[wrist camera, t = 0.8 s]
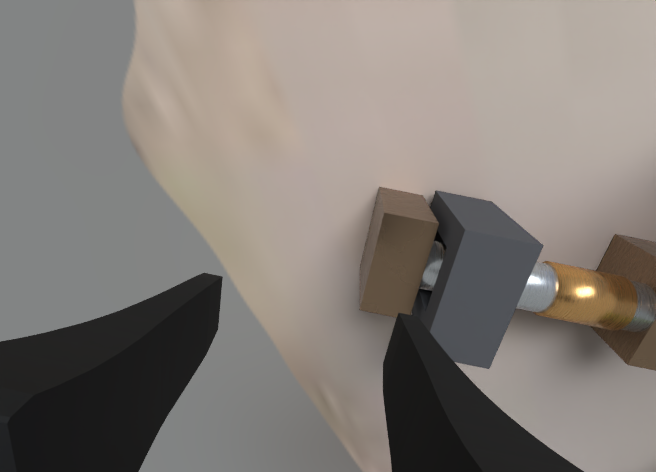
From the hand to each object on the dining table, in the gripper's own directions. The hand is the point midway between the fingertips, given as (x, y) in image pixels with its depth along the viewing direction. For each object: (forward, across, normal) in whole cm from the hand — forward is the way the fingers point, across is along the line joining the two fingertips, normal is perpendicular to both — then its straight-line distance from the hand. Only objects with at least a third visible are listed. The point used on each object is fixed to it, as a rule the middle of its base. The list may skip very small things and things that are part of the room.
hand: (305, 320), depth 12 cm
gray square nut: (+10, -7, 0) cm, 12 cm away
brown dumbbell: (+10, -10, 0) cm, 14 cm away
